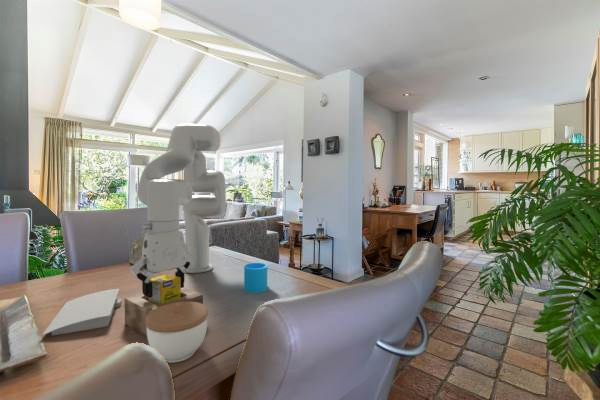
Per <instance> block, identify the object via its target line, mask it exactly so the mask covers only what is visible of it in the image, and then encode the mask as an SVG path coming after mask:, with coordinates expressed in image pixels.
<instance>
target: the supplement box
mask: <svg viewBox="0 0 600 400" xmlns="http://www.w3.org/2000/svg"><path fill="white" fill-rule="evenodd" d="M150 282H152V287H153V296H152V297H151V298H148V301H149V302H151V303H153V304H155V305H157V306H158V305H160V304H163V303H166V302H169V301H172V300H175V299H178V298H181V277H177V276H175V275H171V274H163V275H159V276H155V277H152V278H151V280H150Z"/></svg>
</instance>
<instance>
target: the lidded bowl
mask: <svg viewBox="0 0 600 400" xmlns="http://www.w3.org/2000/svg"><path fill="white" fill-rule="evenodd" d="M208 315H209V309H208V307H207V306H206V305H205V304H204V303H203V304H201V303H198V302H188V301H187V302H176V303H170V304H167V305H163V306H161V307H158V308H156V309H154V310H152V311H151V312H150V313H149V314H148V315H147V316H146V319H145V322H146V332H147V337H146V339H147V342H148V346H149V347H150V346H151V347H153V348H155V349H156V350H157V351H159V353H160V354H161V355H162V356H163V357H164V358H165V360H166V361H167V362H166V363H170V364H171V363H173V364H174V363H179V362H183V361H186V360H188V359H189V358H191V357H192V356H194V354H195V353H196V351H197V350H198V349H199V348H200V347H201V345H202V344H203V342H204V340H205V337H206V335H207V334H206V333H207V329H208V328H207V327H208Z"/></svg>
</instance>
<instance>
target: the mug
mask: <svg viewBox="0 0 600 400" xmlns="http://www.w3.org/2000/svg"><path fill="white" fill-rule="evenodd" d="M243 266H244V267H243V269H244V271H243V277H244V278H243V281H244V282H243V283H244V285H243V290H244V291H245V292H247V293H252V294H253V293H254V294H255V293H256V294H257V293H262V292H265V291H267V290H268V264H267V263H264V262H251V263H250V262H249V263H247V264H245V265H243Z"/></svg>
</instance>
